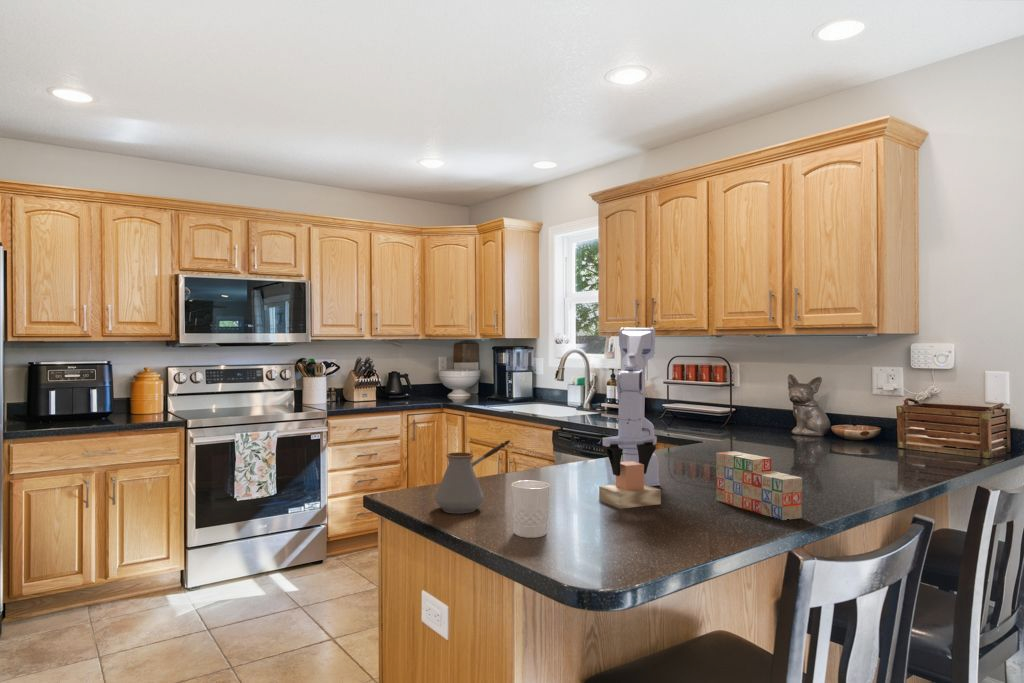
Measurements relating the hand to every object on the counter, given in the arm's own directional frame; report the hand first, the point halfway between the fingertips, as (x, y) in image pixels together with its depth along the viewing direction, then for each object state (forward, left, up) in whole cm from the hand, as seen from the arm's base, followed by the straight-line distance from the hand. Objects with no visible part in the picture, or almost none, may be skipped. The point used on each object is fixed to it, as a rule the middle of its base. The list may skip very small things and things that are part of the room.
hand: (629, 474), depth 159 cm
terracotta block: (0, 0, -3) cm, 3 cm away
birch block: (0, 0, -7) cm, 7 cm away
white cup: (+34, +16, -7) cm, 38 cm away
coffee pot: (+37, -9, -7) cm, 39 cm away
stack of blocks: (-25, +16, -7) cm, 31 cm away
